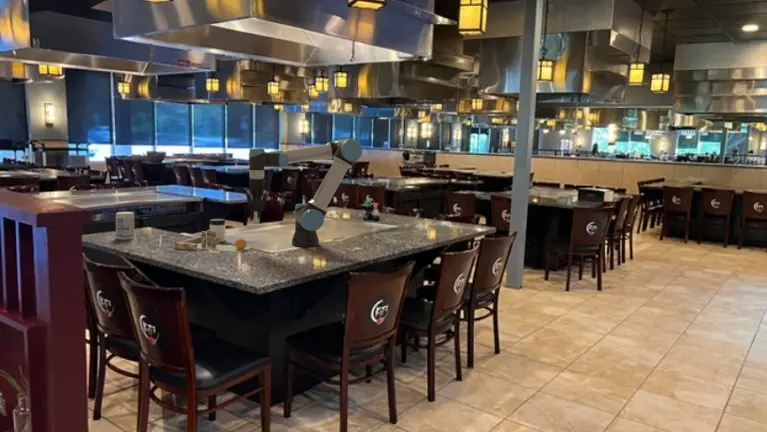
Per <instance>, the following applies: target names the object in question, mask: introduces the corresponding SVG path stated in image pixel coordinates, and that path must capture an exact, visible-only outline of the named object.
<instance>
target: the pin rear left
mask: <svg viewBox="0 0 767 432" xmlns="http://www.w3.org/2000/svg"><path fill="white" fill-rule="evenodd" d="M200 236H201V247H206V237H207V230H206V231H204V230H202V231H201V233H200Z"/></svg>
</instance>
